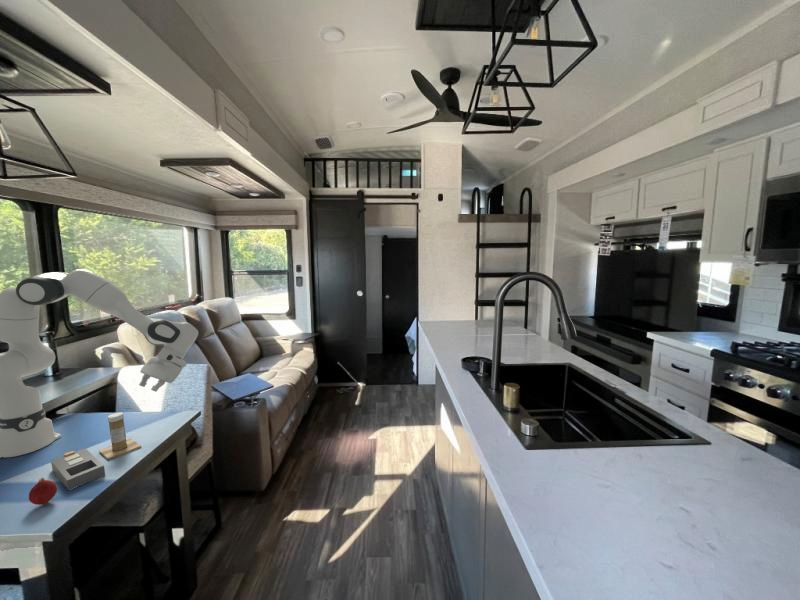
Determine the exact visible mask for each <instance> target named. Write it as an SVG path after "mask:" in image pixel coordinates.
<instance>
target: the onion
mask: <svg viewBox="0 0 800 600" xmlns="http://www.w3.org/2000/svg"><path fill="white" fill-rule="evenodd" d="M57 493H58V486H57V484H56V483H55V482H54V481H52V480H47V479H45V478H44V477H41V478H39V479H38V482H37V483H35V485H33V486H32V488H31V489H30V491H29V493H28V500H29V502H30V503H32V504H34V505H36V506H37V505H39V506H40V505H41V506H45V505H46V504H48V503H49V502H51V500H53V498H54V497H55V496H56V494H57Z"/></svg>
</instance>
